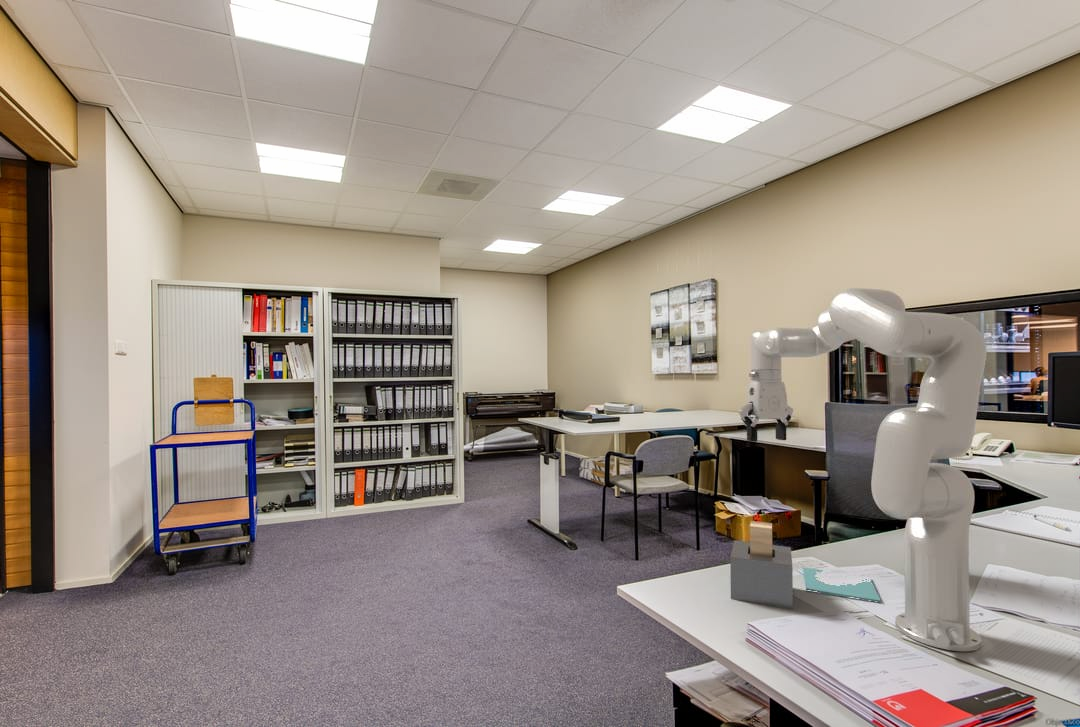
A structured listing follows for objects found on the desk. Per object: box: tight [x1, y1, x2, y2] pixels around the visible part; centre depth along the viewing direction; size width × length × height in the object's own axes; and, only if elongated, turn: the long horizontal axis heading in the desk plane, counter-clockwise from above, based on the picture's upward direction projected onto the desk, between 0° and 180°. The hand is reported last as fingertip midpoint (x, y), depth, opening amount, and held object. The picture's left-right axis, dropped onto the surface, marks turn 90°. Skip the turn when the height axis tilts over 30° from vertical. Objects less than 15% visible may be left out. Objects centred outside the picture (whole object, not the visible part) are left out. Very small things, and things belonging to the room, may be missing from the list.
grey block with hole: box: [729, 539, 794, 610], centre depth 113 cm, size 12×12×9 cm
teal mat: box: [802, 566, 882, 603], centre depth 117 cm, size 14×14×1 cm
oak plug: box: [749, 520, 773, 557], centre depth 113 cm, size 4×4×11 cm
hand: (766, 440), depth 137 cm, fingers open, 9 cm apart
